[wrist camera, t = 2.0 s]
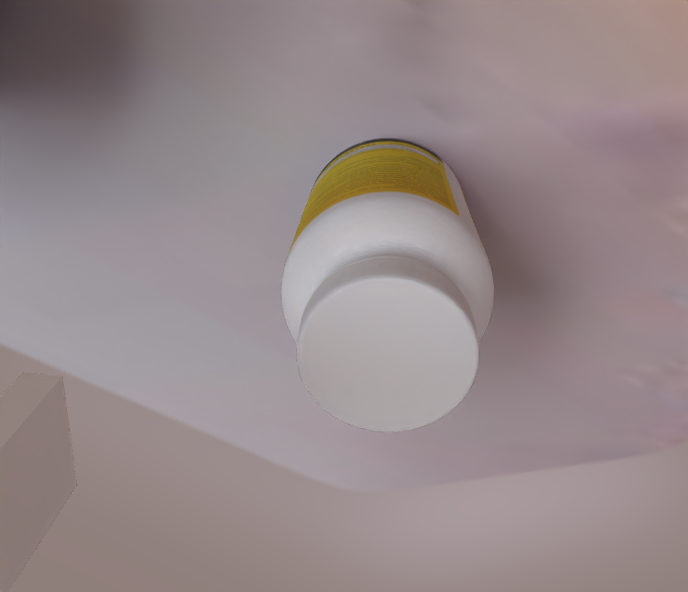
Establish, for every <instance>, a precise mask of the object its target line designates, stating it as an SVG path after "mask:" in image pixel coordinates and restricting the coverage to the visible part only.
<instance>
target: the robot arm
mask: <svg viewBox="0 0 688 592" xmlns="http://www.w3.org/2000/svg"><path fill="white" fill-rule="evenodd" d="M72 451H73V450H72V443H71V437H70V428H69V422H68V413H67V406H66V399H65V392H64V384H63V377H61V376H54V375H44V374H35V373H27V372H23V373H22V374H21V376H19V377H18V379H16V381H15V382H14V383H13V384H12V385H11V386H10V387H9V388H8V389H7V390H6V391H5V392H4V393H3V394H2V395H1V396H0V592H9V590H10V589H11V587H12V586H13V584H14V583H15V581H16V579H17V578H18V576H19V575H20V573H21V572H22V570H23V569H24V567H25V565H26V564H27V562H28V561H29V559H30V558H31V556H32V555H33V553H34V551H35V550H36V548H37V547H38V545H39V544H40V542H41V540H42V539H43V537H44V535H45V534H46V533H47V531H48V530H49V528H50V526H51V525H52V523H53V522H54V520H55V519H56V517H57V516H58V514H59V512H60V511H61V509H62V508H63V506H64V505H65V503H66V501H67V500H68V498H69V497H70V495H71V494H72V492H73V491H74V489H75V487H76V486H77V480H76V473H75V465H74V458H73V452H72Z"/></svg>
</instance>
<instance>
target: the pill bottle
mask: <svg viewBox="0 0 688 592" xmlns="http://www.w3.org/2000/svg"><path fill="white" fill-rule="evenodd" d="M281 300H282V307H283V312H284V316H285V320H286V323H287V326H288V328H289V330H290V333H291V335H292V337H293V338H294V340H295V342H296V343H297V348H296V354H297V363H298V369H299V373H300V376H301V379H302V381H303V383H304V385H305V387H306V389H307V390H308V392H309V393H310V395H311V396H312V397H313V399H314V400H315V401H316V402H317V403H318V404H319V405H320V406H321V407H322V408H323V409H324V410H325V411H327V412H328V413H329V414H331V415H332V416H334V417H336V418H337V419H339V420H341V421H343V422H345V423H347V424H349V425H352V426H355V427H358V428H361V429H366V430H371V431H377V432H400V431H408V430H413V429H417V428H420V427H423V426H426V425H428V424H431V423H433V422H435V421H437V420H438V419H440V418H442V417H444V416H445V415H447V414H448V413H449V412H450V411H452V410H453V409H454V408H455V407H456V406H457V405H458V404H459V403H460V402H461V401H462V400H463V399H464V397H465V396H466V394H467V393H468V391H469V390H470V388H471V386H472V384H473V382H474V379H475V377H476V374H477V370H478V365H479V355H480V353H479V342H480V341H481V339H482V337H483V335H484V334H485V331H486V329H487V326H488V324H489V321H490V318H491V314H492V309H493V302H494V282H493V275H492V271H491V266H490V262H489V259H488V257H487V254H486V252H485V249H484V246H483V244H482V241H481V239H480V237H479V234H478V232H477V229H476V227H475V224H474V222H473V219H472V217H471V214H470V211H469V209H468V206H467V203H466V201H465V198H464V195H463V192H462V189H461V187H460V184H459V182H458V180H457V179H456V177H455V175H454V174H453V172H452V171H451V169H450V168H449V167H448V165H447V164H446V163H445V162H444V161H443V160H442V159H441V158H440V157H438V156H437V155H436V154H435V153H433V152H432V151H430V150H429V149H427V148H425V147H423V146H421V145H419V144H417V143H414V142H411V141H407V140H403V139H397V138H379V139H372V140H367V141H364V142H361V143H358V144H356V145H353V146H351V147H349V148H347V149H346V150H344V151H343V152H341V153H340V154H338V155H337V156H336V157H335V158H333V159H332V160H331V161H330V162H329V163H328V164H327V166H326V167H325V168H324V169H323V170H322V172H321V173H320V175H319V176H318V178H317V180H316V182H315V184H314V186H313V188H312V190H311V193H310V196H309V199H308V201H307V204H306V207H305V210H304V212H303V215H302V218H301V221H300V224H299V227H298V229H297V232H296V235H295V238H294V241H293V243H292V246H291V249H290V252H289V254H288V257H287V261H286V264H285V267H284V271H283V276H282V284H281Z"/></svg>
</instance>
